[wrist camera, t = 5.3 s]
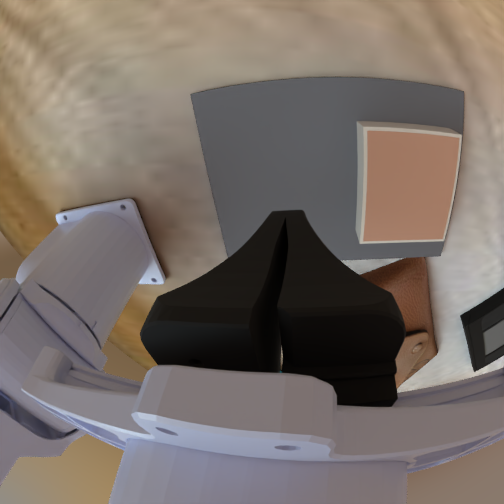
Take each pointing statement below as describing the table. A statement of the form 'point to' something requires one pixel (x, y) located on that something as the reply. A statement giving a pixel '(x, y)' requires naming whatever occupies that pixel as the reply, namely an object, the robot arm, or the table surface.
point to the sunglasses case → (409, 312)
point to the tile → (405, 181)
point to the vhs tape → (485, 331)
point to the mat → (308, 152)
